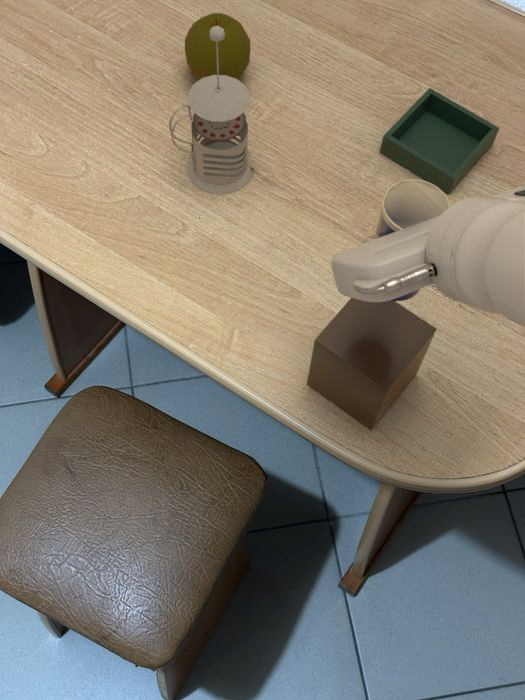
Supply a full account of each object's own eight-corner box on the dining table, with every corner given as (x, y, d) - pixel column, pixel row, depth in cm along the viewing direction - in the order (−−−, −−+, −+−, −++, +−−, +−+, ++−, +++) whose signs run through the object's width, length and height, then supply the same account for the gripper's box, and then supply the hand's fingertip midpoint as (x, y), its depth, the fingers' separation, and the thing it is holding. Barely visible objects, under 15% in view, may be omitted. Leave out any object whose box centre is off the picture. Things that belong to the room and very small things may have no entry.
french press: (261, 188, 119) (266, 52, 97) (180, 200, 118) (166, 65, 95) (247, 136, 123) (249, -6, 101) (169, 147, 122) (154, 6, 100)
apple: (235, 108, 126) (235, 51, 116) (176, 90, 127) (171, 32, 117) (259, 62, 130) (261, 4, 120) (201, 45, 131) (198, -14, 122)
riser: (416, 374, 106) (436, 328, 96) (371, 431, 102) (387, 390, 92) (352, 330, 109) (365, 281, 98) (306, 384, 105) (314, 339, 94)
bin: (491, 148, 124) (499, 127, 120) (447, 198, 119) (454, 179, 115) (423, 108, 127) (429, 87, 123) (378, 156, 122) (383, 135, 118)
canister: (435, 273, 87) (463, 202, 77) (402, 312, 85) (426, 245, 74) (386, 241, 89) (407, 168, 78) (353, 280, 87) (369, 209, 76)
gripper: (379, 332, 67) (316, 298, 80) (590, 248, 72) (498, 228, 84) (361, 258, 65) (299, 236, 78) (579, 176, 69) (486, 167, 82)
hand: (404, 231), depth 81 cm, fingers closed on canister, 6 cm apart
